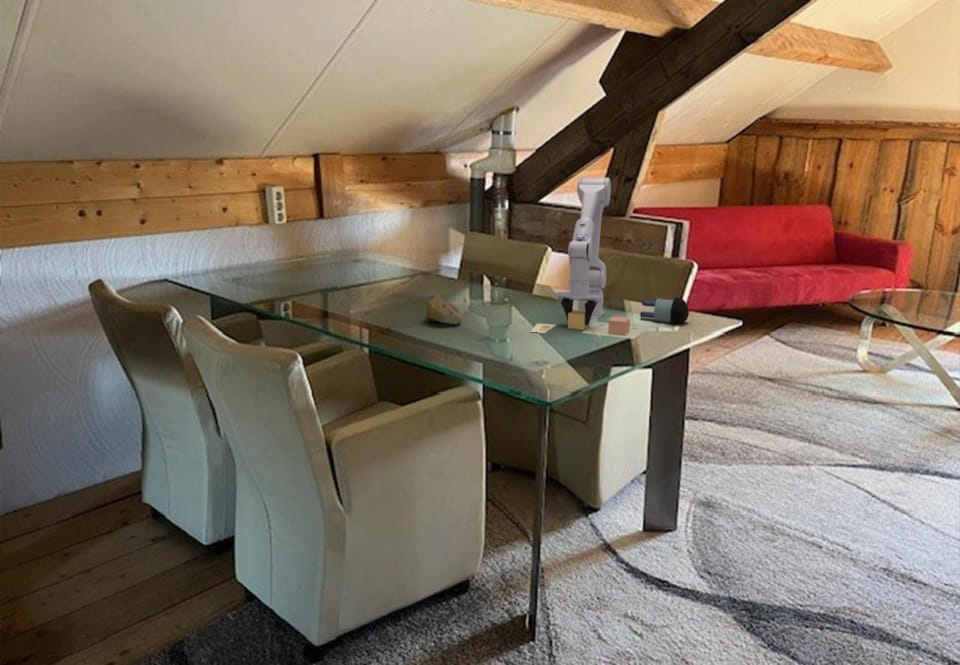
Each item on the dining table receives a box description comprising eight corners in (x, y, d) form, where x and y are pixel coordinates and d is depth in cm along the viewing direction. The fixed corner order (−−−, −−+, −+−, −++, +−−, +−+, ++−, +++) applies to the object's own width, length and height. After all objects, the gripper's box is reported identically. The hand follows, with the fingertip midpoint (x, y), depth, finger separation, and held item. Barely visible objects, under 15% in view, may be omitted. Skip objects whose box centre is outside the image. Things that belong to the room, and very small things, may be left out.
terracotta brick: (613, 329, 222) (613, 316, 221) (629, 331, 220) (630, 318, 218) (608, 333, 217) (608, 320, 216) (624, 335, 215) (625, 322, 214)
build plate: (595, 323, 231) (596, 321, 230) (646, 328, 224) (646, 326, 224) (581, 334, 219) (581, 332, 218) (634, 340, 212) (634, 338, 212)
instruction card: (537, 324, 230) (537, 323, 230) (559, 325, 228) (559, 324, 228) (530, 332, 221) (530, 331, 221) (553, 334, 219) (553, 333, 219)
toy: (640, 325, 235) (687, 330, 228) (634, 314, 228) (682, 319, 221) (646, 301, 238) (693, 305, 230) (640, 290, 230) (688, 294, 223)
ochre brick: (573, 325, 228) (573, 309, 227) (588, 327, 226) (589, 311, 225) (567, 329, 224) (568, 313, 223) (583, 331, 222) (583, 315, 220)
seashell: (444, 334, 225) (447, 303, 222) (415, 321, 235) (416, 291, 232) (471, 328, 233) (473, 297, 230) (441, 315, 242) (443, 286, 239)
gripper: (552, 280, 221) (551, 324, 224) (598, 284, 214) (597, 329, 218) (560, 276, 227) (559, 318, 230) (605, 279, 221) (604, 323, 224)
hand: (578, 323), depth 225 cm, fingers closed on ochre brick, 5 cm apart
